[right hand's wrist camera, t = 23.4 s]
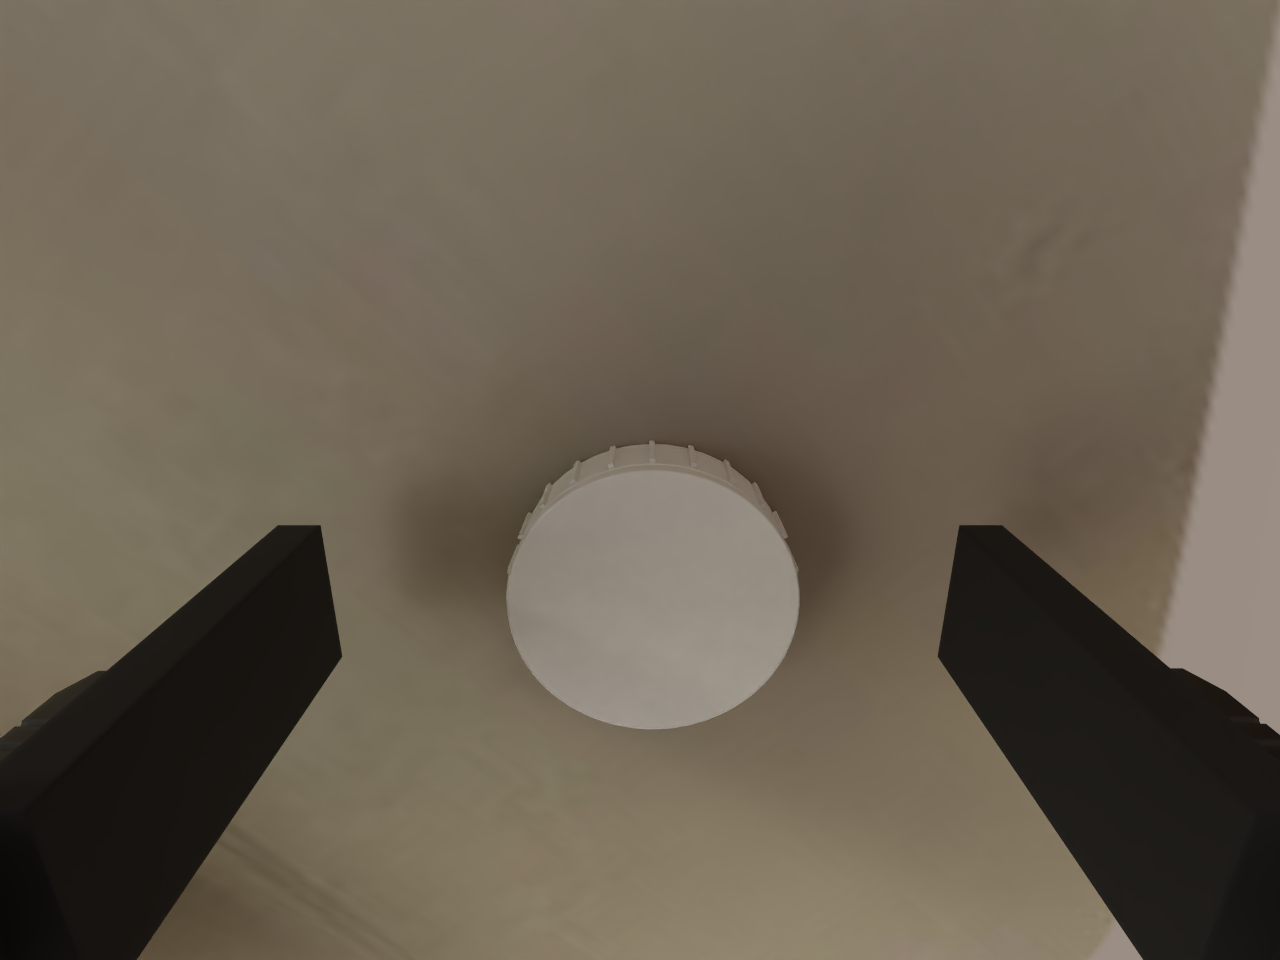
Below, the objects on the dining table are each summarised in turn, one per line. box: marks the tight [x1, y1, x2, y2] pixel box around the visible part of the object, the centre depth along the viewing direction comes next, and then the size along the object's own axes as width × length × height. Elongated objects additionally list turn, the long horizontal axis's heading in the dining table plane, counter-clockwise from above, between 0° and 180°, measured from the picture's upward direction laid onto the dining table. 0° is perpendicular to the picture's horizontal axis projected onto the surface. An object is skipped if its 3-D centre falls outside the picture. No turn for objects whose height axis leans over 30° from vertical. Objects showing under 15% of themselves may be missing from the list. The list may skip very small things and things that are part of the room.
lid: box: [506, 441, 800, 729], centre depth 14 cm, size 6×6×2 cm
